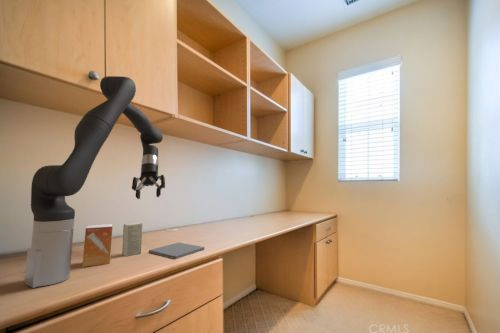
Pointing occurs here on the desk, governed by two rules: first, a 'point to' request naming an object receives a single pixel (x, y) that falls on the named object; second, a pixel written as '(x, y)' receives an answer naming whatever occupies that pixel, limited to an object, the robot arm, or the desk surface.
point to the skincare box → (132, 239)
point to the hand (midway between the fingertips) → (148, 197)
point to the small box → (97, 245)
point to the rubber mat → (176, 250)
